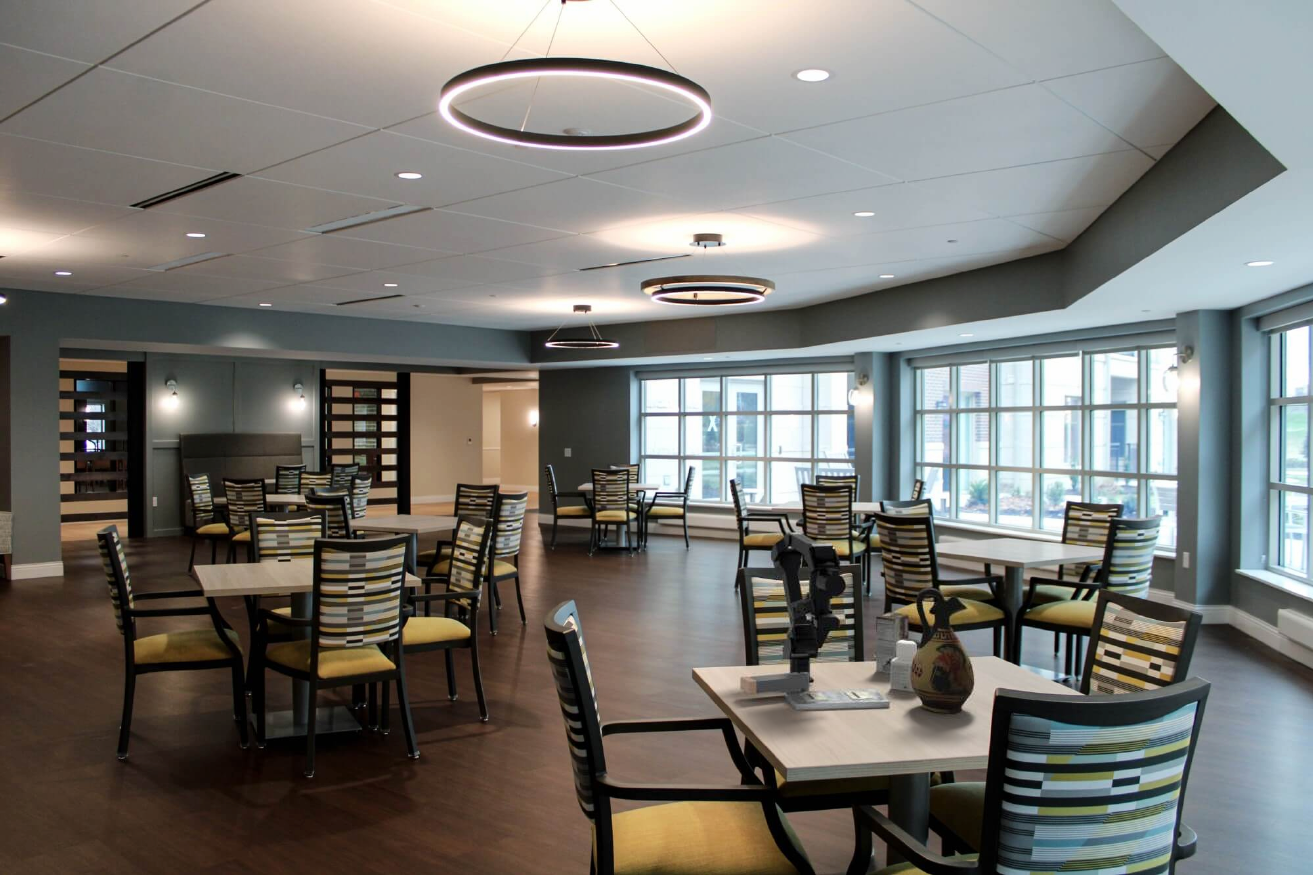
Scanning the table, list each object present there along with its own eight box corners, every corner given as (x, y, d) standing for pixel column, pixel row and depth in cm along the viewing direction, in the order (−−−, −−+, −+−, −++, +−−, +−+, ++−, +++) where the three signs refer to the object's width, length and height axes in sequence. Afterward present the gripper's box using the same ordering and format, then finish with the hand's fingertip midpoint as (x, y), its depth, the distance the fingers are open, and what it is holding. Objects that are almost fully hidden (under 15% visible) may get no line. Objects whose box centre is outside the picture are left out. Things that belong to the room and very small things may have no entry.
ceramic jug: (972, 702, 246) (972, 585, 246) (975, 719, 231) (975, 595, 231) (904, 697, 251) (904, 583, 251) (903, 713, 236) (903, 591, 236)
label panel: (784, 697, 250) (784, 690, 250) (873, 694, 253) (873, 688, 253) (796, 710, 239) (796, 702, 239) (889, 707, 241) (889, 700, 241)
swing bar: (803, 690, 257) (803, 670, 257) (813, 695, 252) (813, 674, 252) (740, 696, 250) (740, 676, 250) (749, 701, 245) (749, 680, 245)
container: (898, 682, 266) (898, 636, 266) (926, 686, 262) (926, 639, 262) (890, 689, 259) (890, 640, 259) (918, 692, 255) (918, 644, 255)
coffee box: (889, 665, 286) (889, 611, 287) (909, 668, 282) (909, 614, 282) (875, 671, 279) (875, 615, 279) (895, 674, 275) (895, 618, 275)
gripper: (782, 584, 264) (781, 640, 265) (798, 596, 246) (798, 657, 246) (821, 583, 266) (821, 640, 266) (841, 596, 247) (840, 656, 247)
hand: (819, 648), depth 256 cm, fingers closed
